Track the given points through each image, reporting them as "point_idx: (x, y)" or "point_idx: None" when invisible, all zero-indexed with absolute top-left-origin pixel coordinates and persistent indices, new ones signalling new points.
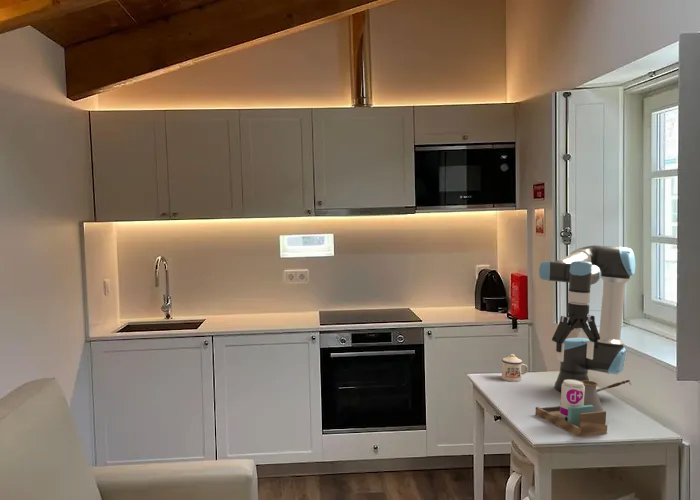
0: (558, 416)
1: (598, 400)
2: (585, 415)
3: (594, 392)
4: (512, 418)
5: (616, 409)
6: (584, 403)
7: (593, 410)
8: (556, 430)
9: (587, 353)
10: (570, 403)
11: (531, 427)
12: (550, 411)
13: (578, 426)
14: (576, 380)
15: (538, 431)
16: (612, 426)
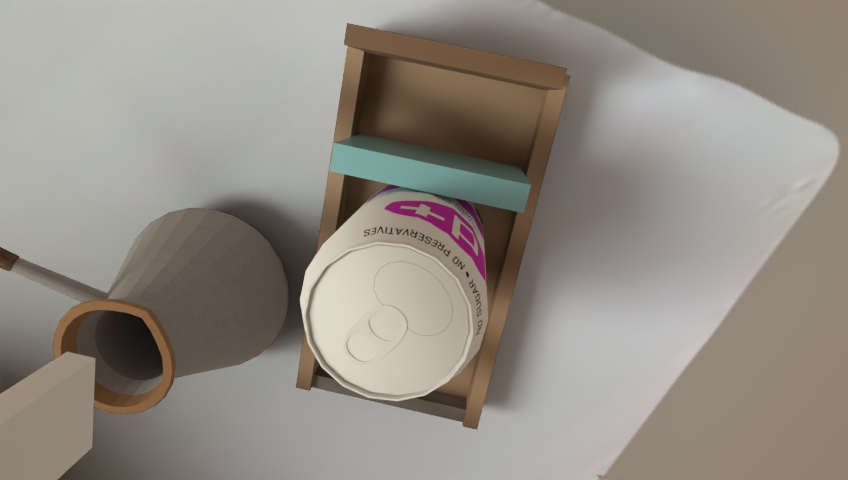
0: None
1: (152, 249)
2: (532, 61)
3: (144, 285)
4: (631, 426)
5: None
6: (248, 283)
7: (343, 140)
8: (582, 202)
9: (41, 476)
10: (476, 234)
11: (662, 296)
12: None
13: None
14: (313, 345)
15: (684, 239)
16: (241, 92)
